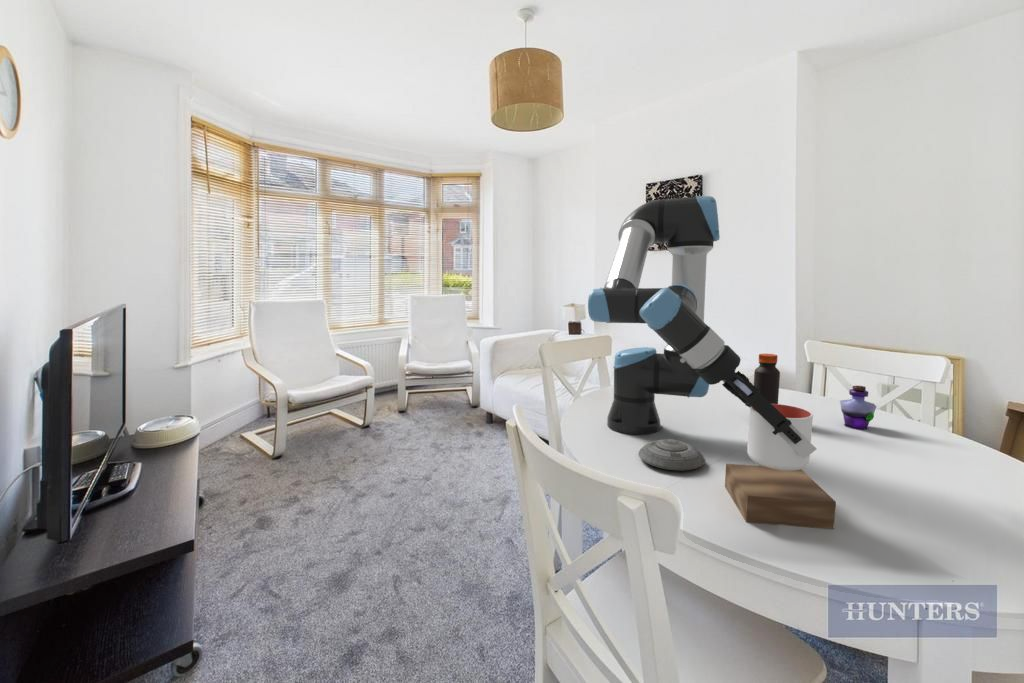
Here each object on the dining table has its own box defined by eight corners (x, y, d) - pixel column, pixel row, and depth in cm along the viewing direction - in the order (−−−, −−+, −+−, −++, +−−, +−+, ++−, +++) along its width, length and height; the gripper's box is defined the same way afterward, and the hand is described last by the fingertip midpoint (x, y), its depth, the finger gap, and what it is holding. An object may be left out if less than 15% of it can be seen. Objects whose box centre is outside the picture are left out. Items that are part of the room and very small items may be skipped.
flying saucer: (699, 481, 97) (699, 457, 96) (630, 467, 104) (631, 444, 104) (709, 457, 109) (710, 435, 108) (647, 446, 117) (648, 426, 116)
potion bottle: (870, 433, 123) (874, 391, 121) (833, 426, 130) (836, 385, 128) (878, 426, 128) (882, 386, 127) (842, 420, 135) (845, 381, 133)
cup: (818, 475, 78) (823, 420, 77) (756, 471, 80) (760, 417, 79) (795, 453, 88) (798, 404, 86) (740, 450, 90) (743, 402, 88)
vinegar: (781, 422, 134) (786, 356, 131) (758, 422, 134) (762, 356, 131) (769, 415, 141) (773, 352, 138) (747, 415, 141) (751, 353, 138)
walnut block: (724, 486, 93) (726, 463, 93) (798, 491, 91) (800, 468, 90) (746, 521, 80) (747, 495, 79) (833, 529, 77) (836, 501, 76)
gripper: (683, 360, 95) (758, 435, 94) (708, 383, 73) (806, 481, 72) (710, 336, 94) (787, 411, 93) (745, 352, 72) (846, 452, 71)
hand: (796, 442), depth 83 cm, fingers closed on cup, 10 cm apart
